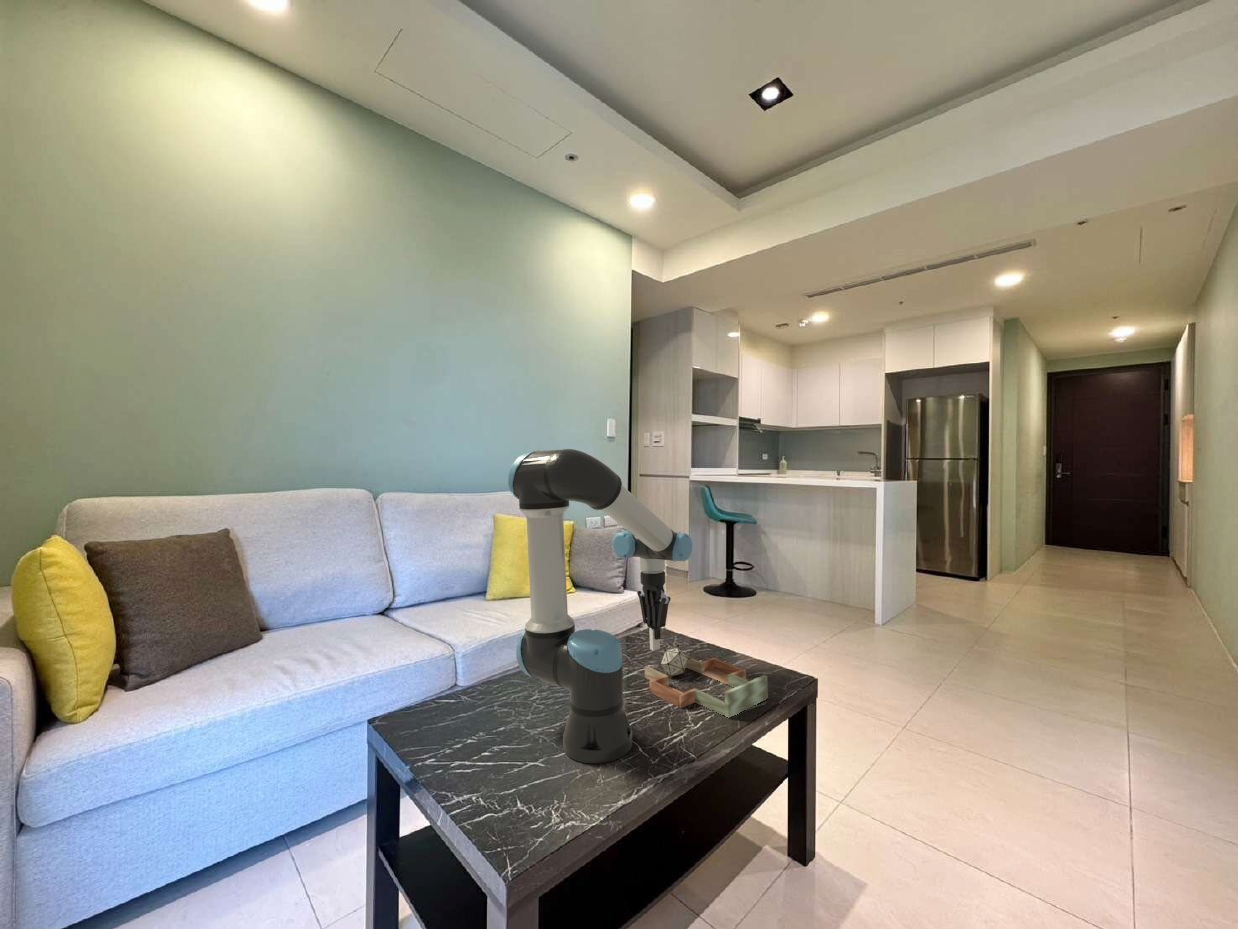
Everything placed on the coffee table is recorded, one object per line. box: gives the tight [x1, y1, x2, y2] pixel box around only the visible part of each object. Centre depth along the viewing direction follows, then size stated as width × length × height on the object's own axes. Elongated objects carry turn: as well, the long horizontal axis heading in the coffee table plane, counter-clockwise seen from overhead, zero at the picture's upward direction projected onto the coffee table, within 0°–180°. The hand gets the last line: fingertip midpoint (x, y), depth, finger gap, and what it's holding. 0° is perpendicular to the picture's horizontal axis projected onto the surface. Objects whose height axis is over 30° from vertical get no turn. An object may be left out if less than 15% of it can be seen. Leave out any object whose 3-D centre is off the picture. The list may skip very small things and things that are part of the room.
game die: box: [657, 644, 692, 680], centre depth 143 cm, size 9×8×10 cm
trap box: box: [644, 655, 769, 719], centre depth 135 cm, size 25×31×6 cm
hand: (654, 649), depth 150 cm, fingers closed
